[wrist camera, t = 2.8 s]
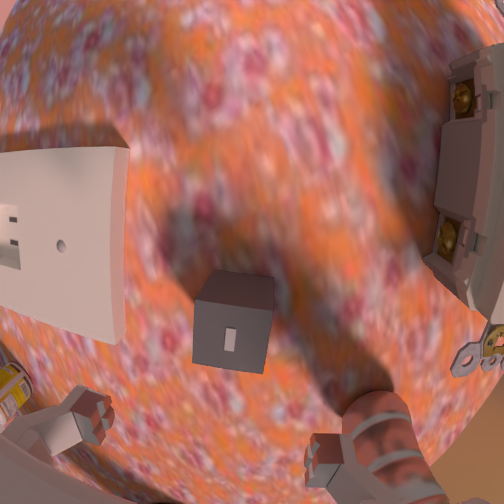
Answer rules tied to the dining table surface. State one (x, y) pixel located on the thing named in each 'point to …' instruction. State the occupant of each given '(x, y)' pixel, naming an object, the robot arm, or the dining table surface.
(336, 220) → the dining table surface
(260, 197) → the dining table surface
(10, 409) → the supplement bottle
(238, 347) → the block
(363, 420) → the plastic bottle
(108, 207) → the outlet plate
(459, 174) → the electrical outlet
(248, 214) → the dining table surface
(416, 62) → the dining table surface
